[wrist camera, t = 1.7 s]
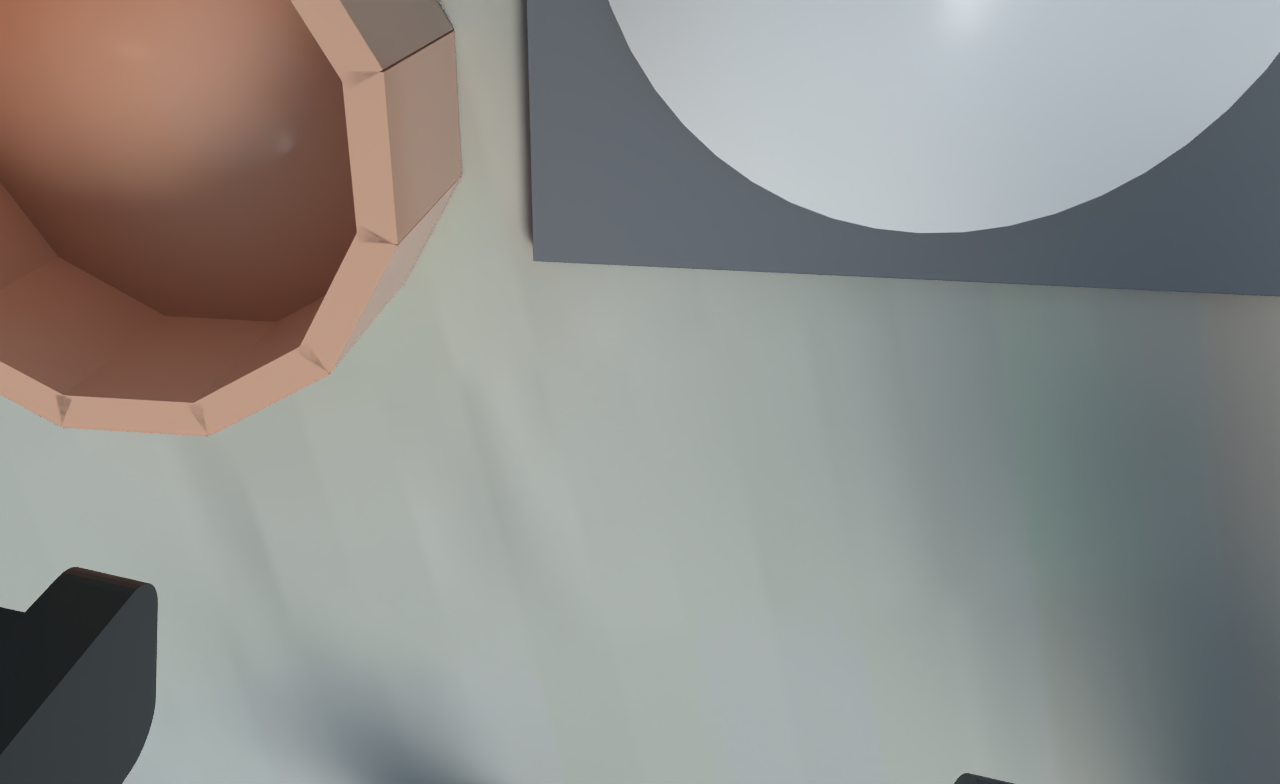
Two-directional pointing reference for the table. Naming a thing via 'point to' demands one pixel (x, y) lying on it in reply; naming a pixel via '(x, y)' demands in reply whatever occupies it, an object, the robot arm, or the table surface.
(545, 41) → the mat
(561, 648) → the table surface
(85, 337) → the bowl
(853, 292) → the table surface
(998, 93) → the lid
